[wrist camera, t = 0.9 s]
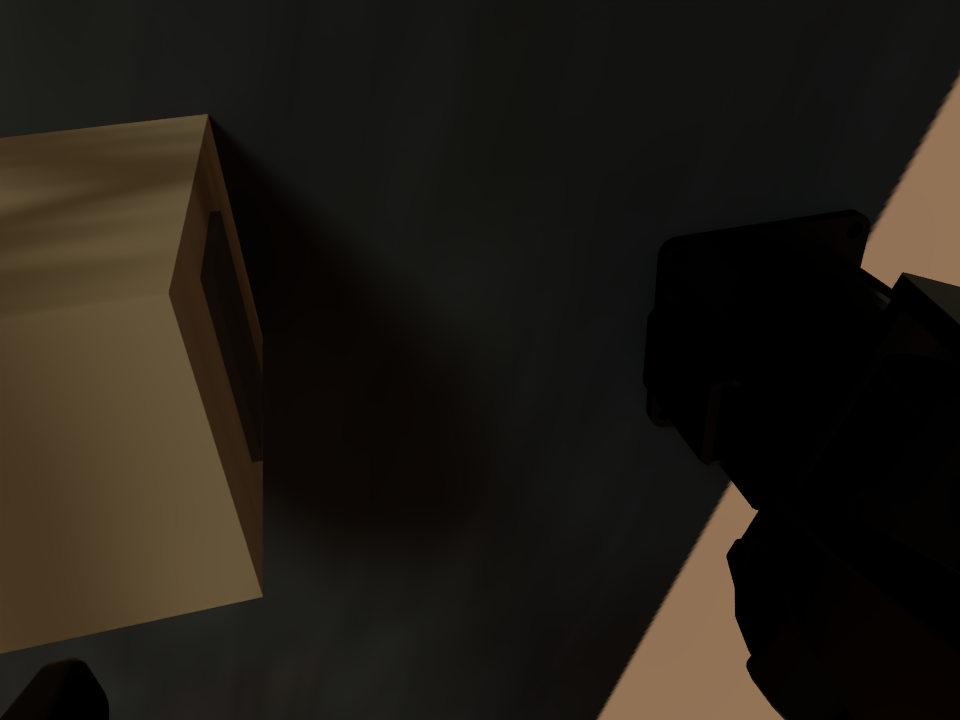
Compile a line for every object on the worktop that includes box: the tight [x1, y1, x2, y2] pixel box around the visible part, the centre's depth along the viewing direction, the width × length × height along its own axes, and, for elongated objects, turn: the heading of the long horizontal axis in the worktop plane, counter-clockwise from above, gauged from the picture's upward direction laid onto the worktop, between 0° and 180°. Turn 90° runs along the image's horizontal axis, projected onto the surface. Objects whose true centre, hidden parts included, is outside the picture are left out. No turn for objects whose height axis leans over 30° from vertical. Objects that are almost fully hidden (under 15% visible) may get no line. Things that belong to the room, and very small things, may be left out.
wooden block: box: [0, 114, 263, 654], centre depth 15 cm, size 5×6×9 cm
